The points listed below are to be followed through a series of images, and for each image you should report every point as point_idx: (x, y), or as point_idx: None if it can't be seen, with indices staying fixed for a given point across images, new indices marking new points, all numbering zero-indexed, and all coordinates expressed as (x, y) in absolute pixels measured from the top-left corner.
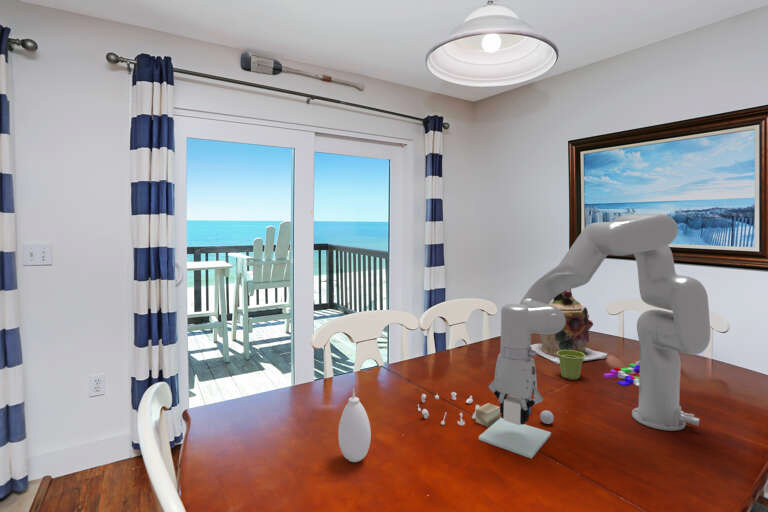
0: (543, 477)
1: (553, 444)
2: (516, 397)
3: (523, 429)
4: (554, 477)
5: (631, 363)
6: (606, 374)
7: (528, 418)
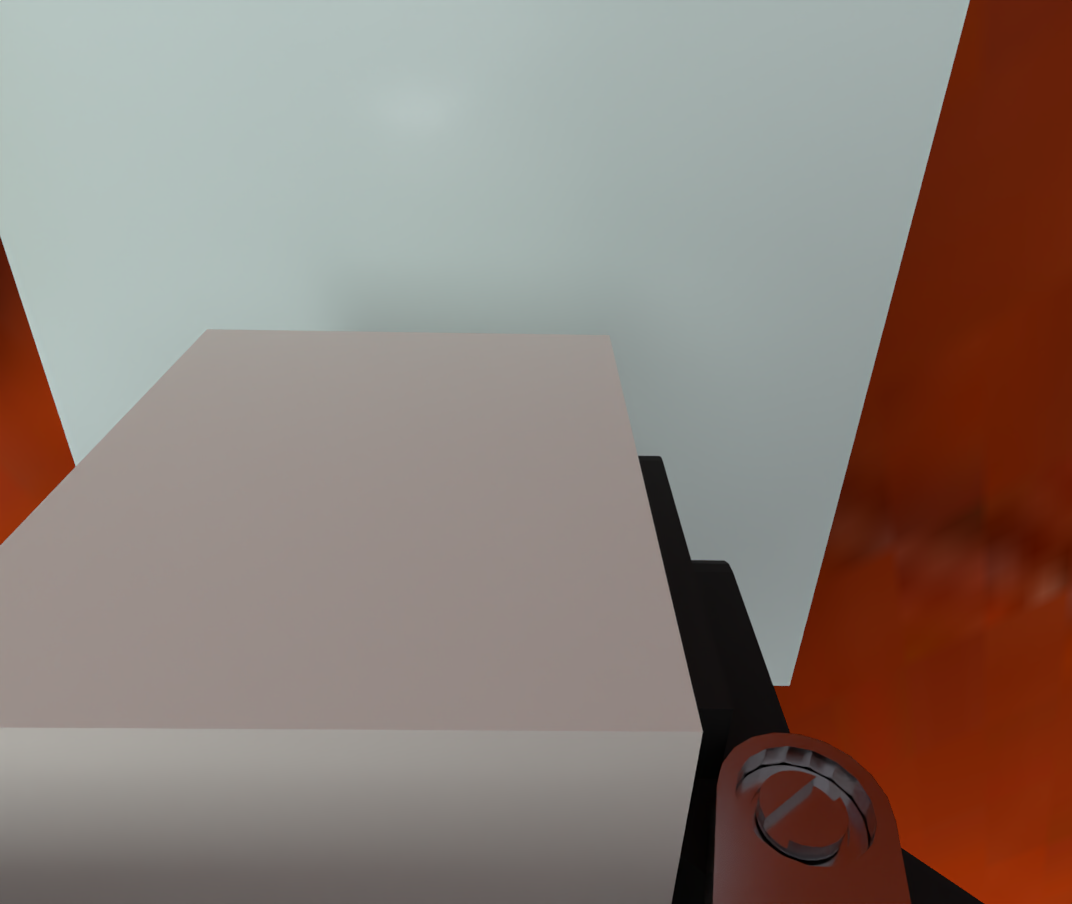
0: (918, 812)
1: (1009, 224)
2: (240, 825)
3: (504, 150)
4: (1008, 775)
5: None
6: None
7: (725, 576)
